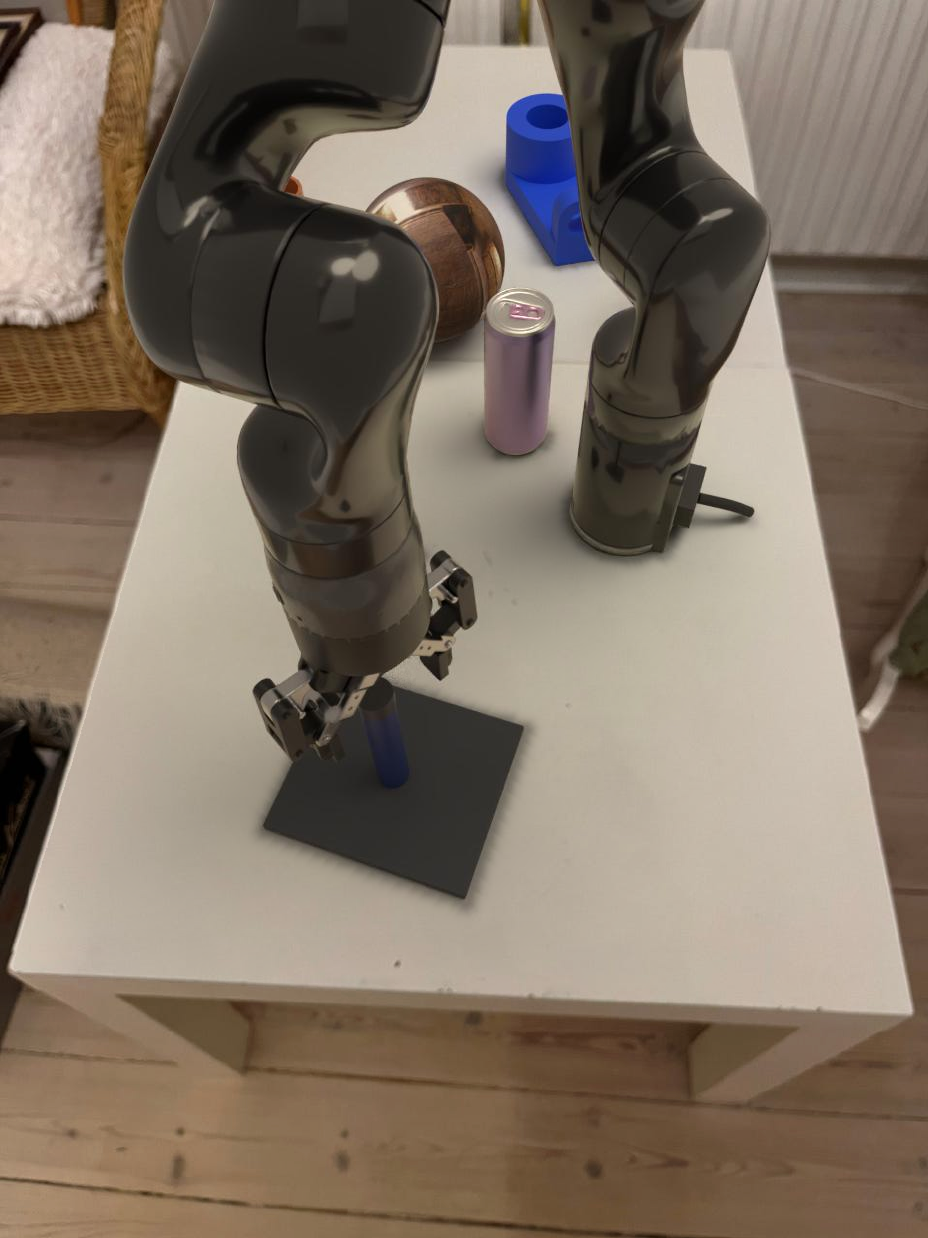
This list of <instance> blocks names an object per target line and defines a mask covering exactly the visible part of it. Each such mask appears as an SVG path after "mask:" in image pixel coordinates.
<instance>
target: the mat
mask: <svg viewBox="0 0 928 1238" xmlns="http://www.w3.org/2000/svg"><path fill="white" fill-rule="evenodd" d="M392 686H393V689H394V693H395V698H396V707H397V712H398V717H399V722H400V727H401V732H402V737H403V742H404V747H405V752H406V757H407V762H408V767H409V777H408V780H407V781H406V782H405V783H404V784H403V785H402V786H400V787H397V788H389V787H386V786H384V785H383V784H382V783H381V782H380V780H379V778H378V774H377V771H376V767H375V764H374V760H373V757H372V753H371V750H370V746H369V743H368V739H367V736H366V732H365V729H364V725H363V721H362V718H361V714H360V712H359V710H358V708H357V710H356V712H355V713H354V715H353V717H352V718H350V719H347V720H344V721H342V722H341V724H340V726H339V728H338V730H337V732H336V733H337V734H338V736H339V739H340V741H341V744H342V747H343V749H344V752H345V755H346V756H344V757H343V758H342V759H341V760H339V761H338V762H336V761H335V760H334V759H333V758H330V759H329V760H328V761H322V759H321V758H320V757H319V756H318V755H317V753H316V752H315V751H314V750H313V749H312V748H311V746H310V745H309V746H308V751H307V753H306V754H305V755H304V756H303V757H302V758H301V759H299V760H298V761H294V762H293V761H292V763H291V765H290V767H289V769H288V770H287V771H288V772H287V773H286V775H285V778H284V780H283V782H282V784H281V786H280V789H279V790H278V792H277V795H276V796H275V798H274V801H273V802H272V805H271V807H270V810H269V812H268V814H267V815H266V818H265V820H264V822H263V825H262V827H263V828H264V829H266V830H268V831H271V832H274V833H278V834H279V835H283V836H286V837H288V838H292V839H294V840H297V841H300V842H303V843H306V844H309V845H311V846H314V847H317V848H320V849H323V850H326V851H329V852H331V853H334V854H337V855H340V856H343V857H346V858H348V859H350V860H354V861H357V862H359V863H362V864H365V865H368V866H370V867H374V868H376V869H379V870H382V871H386V872H388V873H391V874H393V875H396V876H399V877H402V878H404V879H408V880H411V881H413V882H416V883H419V884H422V885H425V886H427V887H430V888H434V889H436V890H439V891H442V892H445V893H447V894H450V895H453V896H456V897H459V898H462V899H466V897H467V895H468V892H469V889H470V887H471V883H472V881H473V877H474V875H475V871H476V868H477V866H478V863H479V860H480V857H481V854H482V851H483V848H484V845H485V843H486V840H487V837H488V833H489V831H490V828H491V826H492V823H493V819H494V817H495V815H496V811H497V808H498V805H499V803H500V799H501V796H502V793H503V790H504V788H505V784H506V781H507V779H508V776H509V773H510V771H511V768H512V764H513V763H514V758H515V756H516V752H517V750H518V747H519V744H520V741H521V739H522V736H523V732H524V729H525V727H524V725H522V724H518V723H516V722H511V721H509V720H506V719H503V718H499V717H496V716H492V715H490V714H486V713H483V712H480V711H477V710H473V709H470V708H467V707H464V706H461V705H457V704H454V703H451V702H447V701H444V700H442V699H438V698H435V697H432V696H428V695H426V694H423V693H419V692H415V691H412V690H408V689H406V688H402V687H400V686H396V685H393V684H392ZM338 694H339V695H340V696H341V697H342V696H343V694H344V693H338ZM317 711H318V712H319V713H320V714H321V716H322V717H323V718H324V713H323V712H322V710H321V709H320V708H319V707H318V708H317Z"/></svg>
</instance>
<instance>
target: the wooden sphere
mask: <svg viewBox="0 0 928 1238" xmlns="http://www.w3.org/2000/svg"><path fill="white" fill-rule="evenodd" d="M365 211H366V212H369V213H373V214H376V215H380V216H382V217H384V218H386V219H388V220H391V221H393V222H395V223H396V224H397V225H399V226H400V227H402V228H403V229H404V230H406V231H407V232H408V234H409V235H410V236H411V237H412V238H413V239H414V240H415V241H416V243H417V244H418V246H419V247H420V248H421V250H422V251H423V253H424V255H425V257H426V259H427V261H428V262H429V264H430V266H431V269H432V272H433V275H434V277H435V280H436V284H437V289H438V296H439V319H438V324H437V329H436V333H435V338H434V342H433V343H439V342H444V341H448V340H453V339H454V338H457V337H459V336H462V335H464V334H466V333H467V332H469V331H470V330H472V329H473V328H475V327H476V326H477V325H478V324H479V323H481V321H482V320H484V316H485V314H486V307H487V304H488V302H489V301H490V299H491V298H492V297H493V296H494V295H496V294H497V293H499V292H501V289H502V285H503V282H504V278H505V277H504V276H505V269H506V255H505V254H506V253H505V246H504V240H503V236H502V233H501V230H500V228H499V225H498V223H497V221H496V220H495V217H494V216H493V214H492V212H491V211H490V209H489V208H488V207H487V206H486V204H485V203H484V202H483V201H482V200H481V199H480V198H479V197H478V196H477V195H475V194H474V193H473V192H472V191H470V190H469V189H468V188H466V187H464V186H462V185H460V184H458V183H457V182H454V181H451V180H448V179H445V178H441V177H432V176H431V177H429V176H422V177H414V178H409V179H406V180H404V181H399V182H398V183H396V184H394V185H392V186H390V187H388V188H386V190H384V191H382V192H381V193H380V194H378V196H377V197H375V198H374V200H373V201H371V202H370V204H369V205H368V207H366V209H365Z"/></svg>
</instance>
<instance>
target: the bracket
mask: <svg viewBox="0 0 928 1238" xmlns="http://www.w3.org/2000/svg"><path fill="white" fill-rule="evenodd" d="M505 117H506V118H505V119H506V120H505V121H506V122H505V164H504V165H505V171H504V172H505V173H504V181H505V187H506V188H507V190H508V192H509V193H510V195H511V196H512V198H513V200H514V201H515V203H516V205H517V206H518V208H519V210H520V211H521V213H522V214H523V216H524V218H525V219H526V221H527V222H528V224H529V226H530V227H531V229H532V231H533V232H534V234H535V236H536V237H537V239H538V240H539V242H540V244H541V245H542V247H543V249H544V250H545V252H546V253H547V255H548V257H549V258H550V260H551V262H552V263H553V265H554V267H558V266H564V265H570V264H578V263H585V262H590V261H595V259H594V258H593V256H592V254H591V252H590V250H589V247H588V245H587V242H586V239H585V235H584V231H583V226H582V220H581V214H580V206H579V197H578V188H577V180H576V171H575V163H574V155H573V146H572V139H571V132H570V125H569V120H568V115H567V109H566V106H565V102H564V98H563V94H559V93H549V92H547V93H546V92H545V93H544V92H543V93H535V94H531V95H527V96H524V97H522V98H520V99H518V100H517V101H515V102H513V103H512V104H511V105H510V107H508V109H507V112H506V116H505Z"/></svg>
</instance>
